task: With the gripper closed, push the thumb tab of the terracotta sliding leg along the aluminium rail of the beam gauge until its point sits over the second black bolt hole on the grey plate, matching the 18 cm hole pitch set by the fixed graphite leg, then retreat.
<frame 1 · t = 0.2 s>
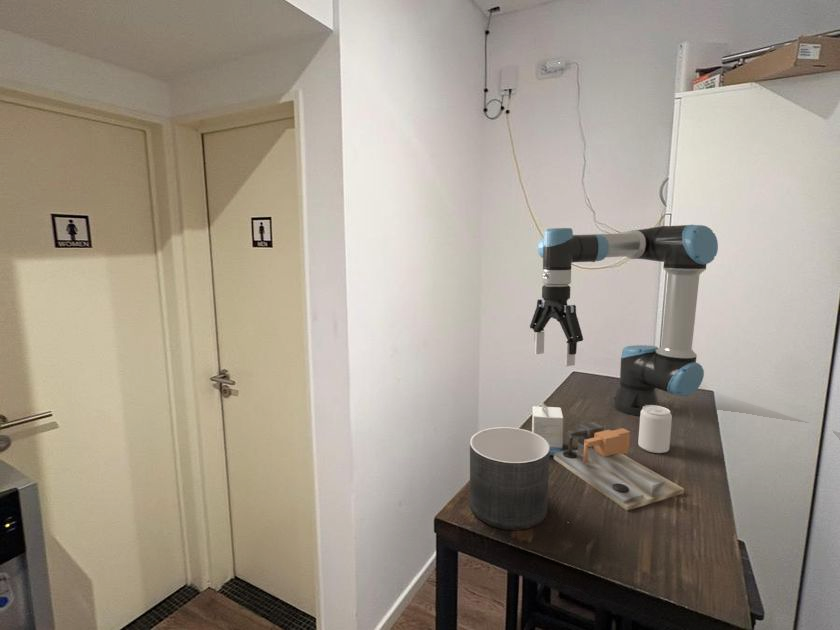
hand: (553, 359, 126), 27 cm above the table, fingers open, 13 cm apart
beverage can: (653, 448, 131), on the table
sliding leg: (605, 445, 119), point 6 cm above the table, slide at 0.0 cm
planter: (507, 507, 104), on the table
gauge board: (613, 474, 116), on the table
ink box: (546, 449, 131), on the table
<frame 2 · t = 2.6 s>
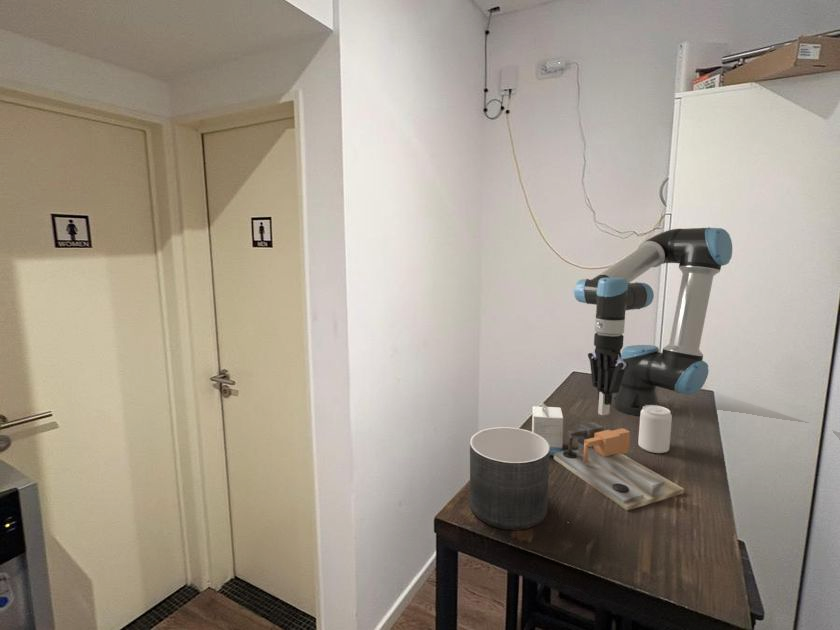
hand: (603, 413, 127), 12 cm above the table, fingers closed
nothing on the table moved.
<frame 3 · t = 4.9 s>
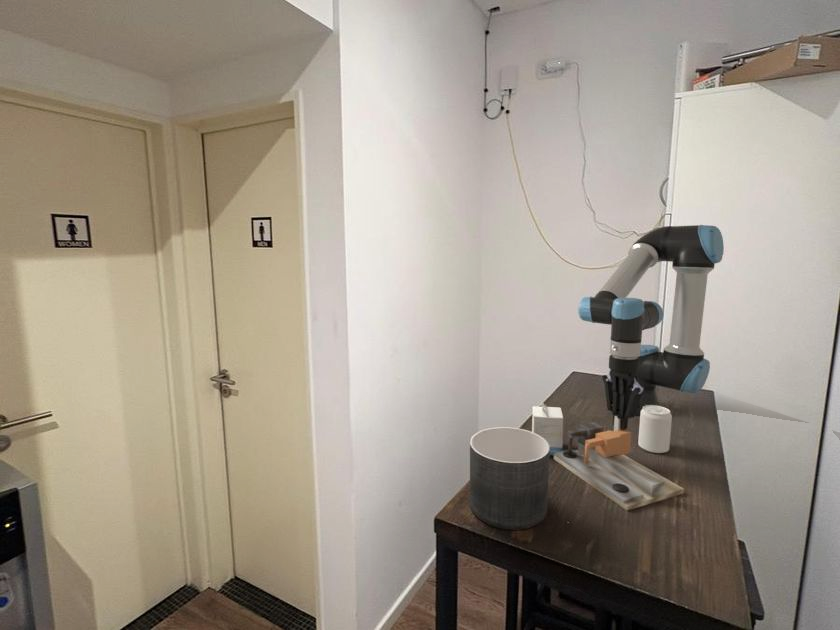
hand: (619, 438, 123), 7 cm above the table, fingers closed
sliding leg: (606, 446, 119), point 6 cm above the table, slide at 0.4 cm, touching gripper
everything else where it was.
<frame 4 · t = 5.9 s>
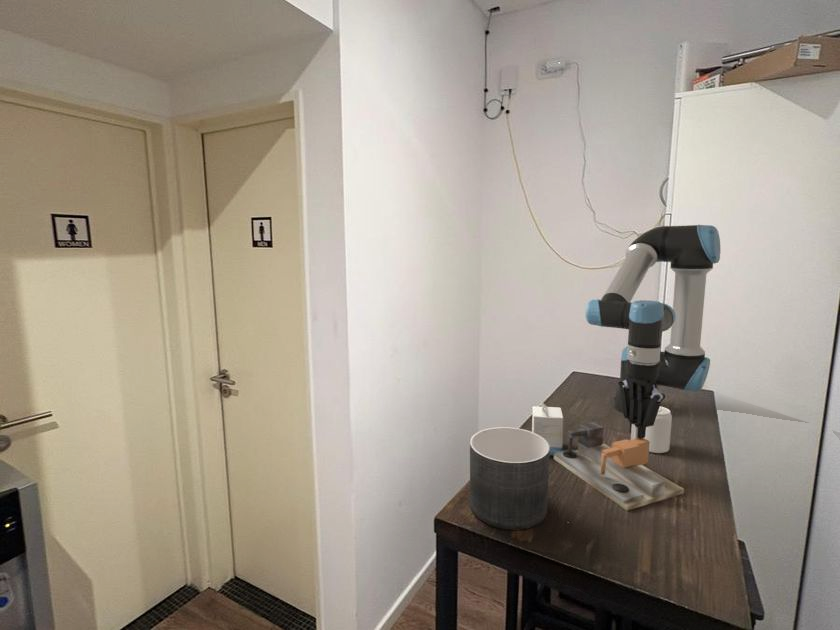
hand: (636, 447, 117), 7 cm above the table, fingers closed
sliding leg: (624, 456, 113), point 6 cm above the table, slide at 6.3 cm, touching gripper
everything else where it was.
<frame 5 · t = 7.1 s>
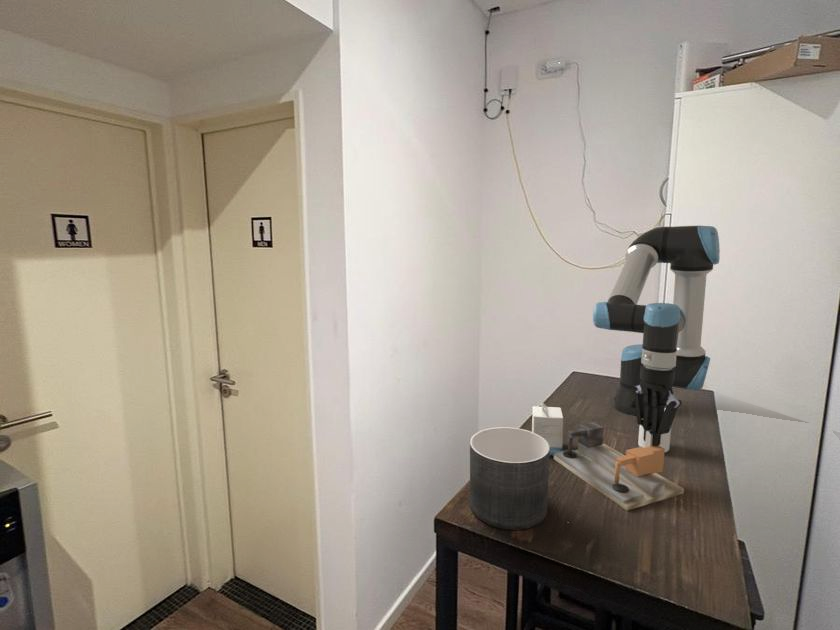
hand: (650, 455, 113), 6 cm above the table, fingers closed
sliding leg: (638, 464, 109), point 6 cm above the table, slide at 10.7 cm, touching gripper
everything else where it was.
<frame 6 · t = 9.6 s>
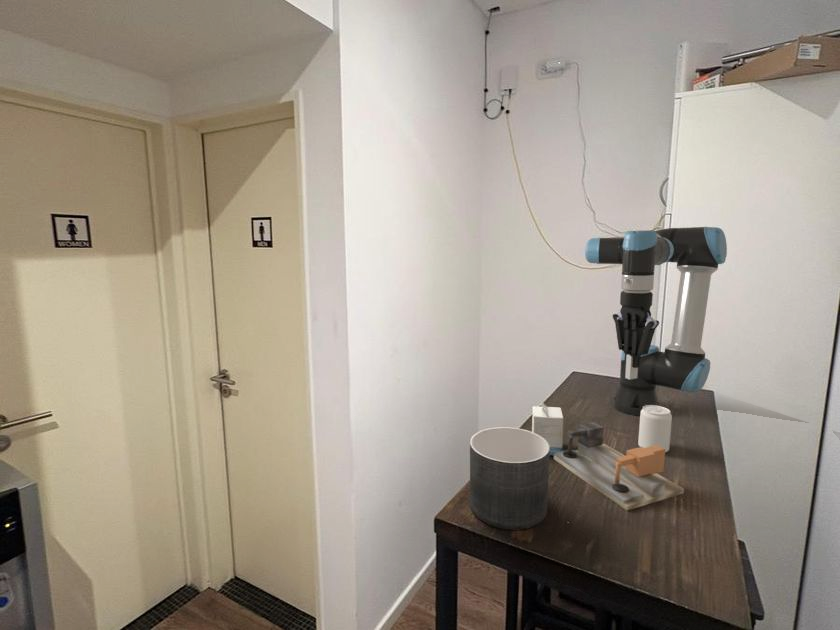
hand: (631, 377, 119), 24 cm above the table, fingers closed
sliding leg: (638, 464, 109), point 6 cm above the table, slide at 10.9 cm
everything else where it was.
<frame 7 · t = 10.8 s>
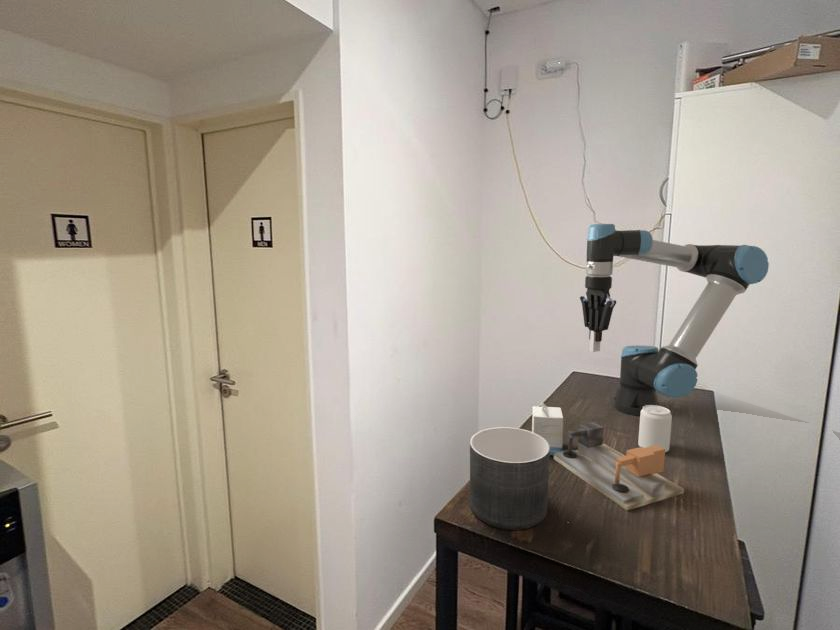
hand: (594, 350, 139), 26 cm above the table, fingers closed
nothing on the table moved.
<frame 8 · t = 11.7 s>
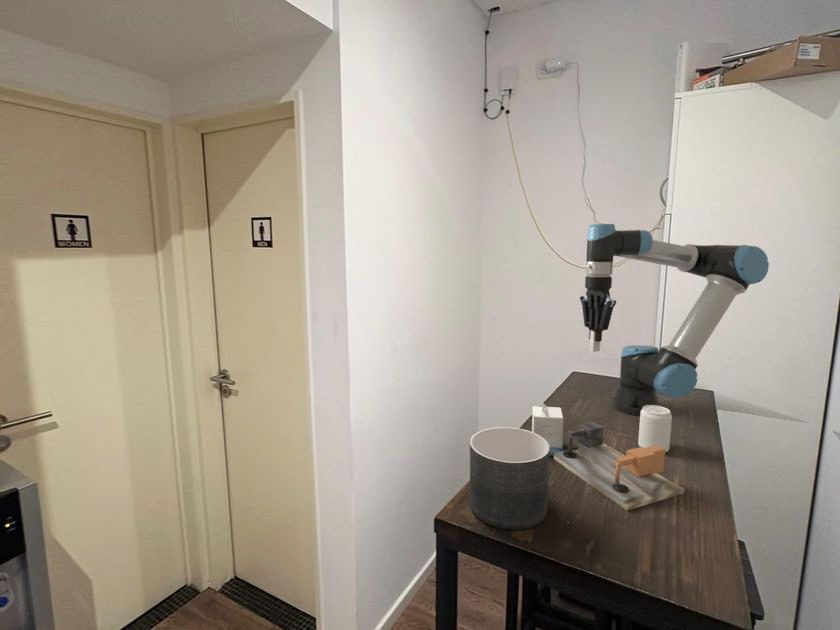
hand: (594, 350, 139), 26 cm above the table, fingers closed
nothing on the table moved.
at the end: sliding leg slide at 10.9 cm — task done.
